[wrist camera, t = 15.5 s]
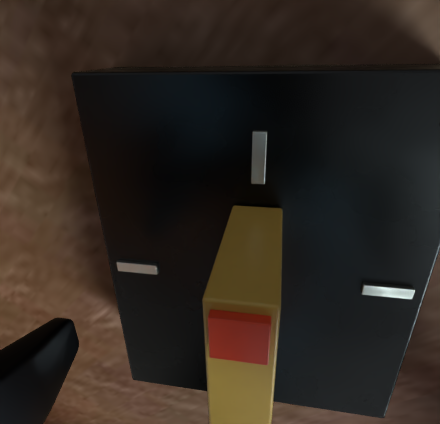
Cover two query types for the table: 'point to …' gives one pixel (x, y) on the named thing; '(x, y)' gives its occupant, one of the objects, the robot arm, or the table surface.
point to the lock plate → (271, 198)
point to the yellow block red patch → (244, 317)
